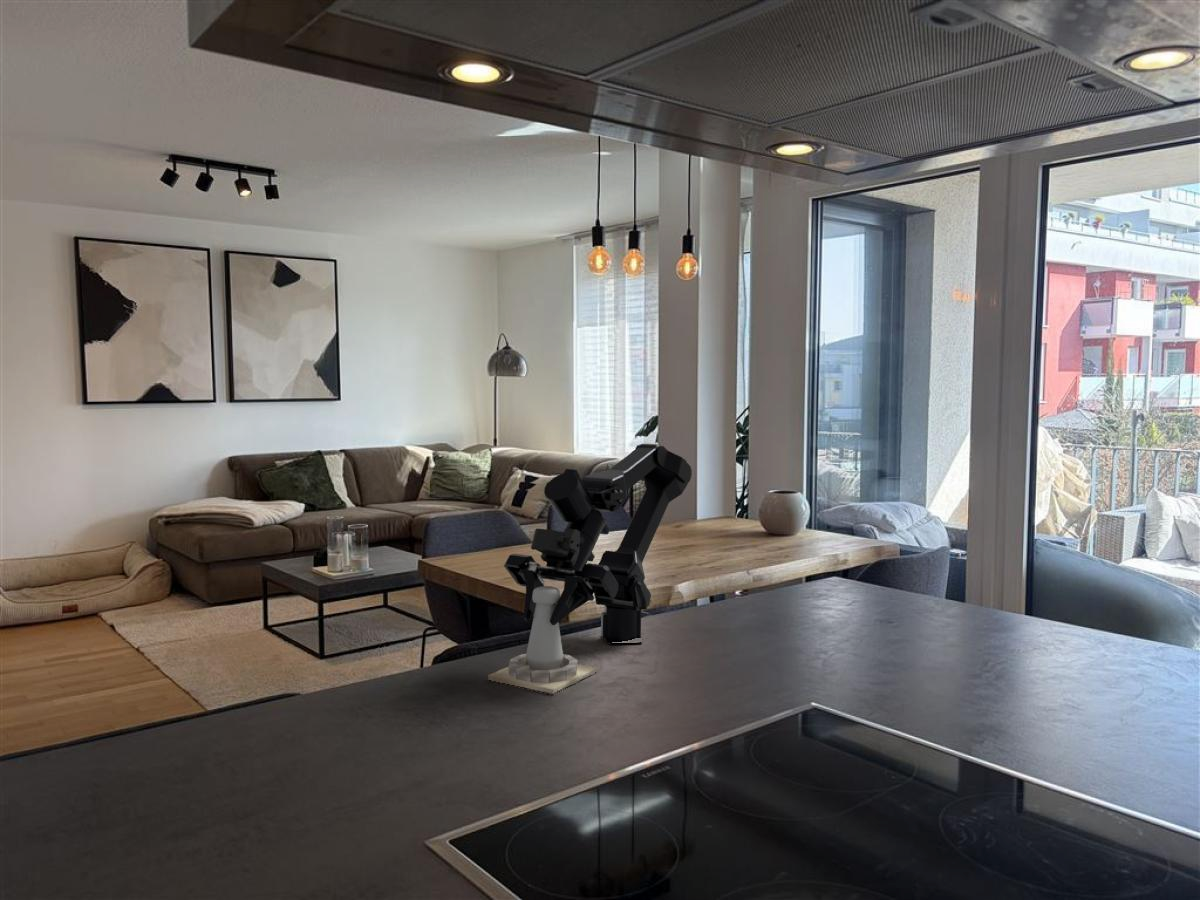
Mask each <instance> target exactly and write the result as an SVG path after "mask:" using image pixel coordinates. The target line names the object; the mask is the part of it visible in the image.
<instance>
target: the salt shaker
mask: <svg viewBox="0 0 1200 900" xmlns="http://www.w3.org/2000/svg"><path fill="white" fill-rule="evenodd" d="M560 592H561V591H560V589H559V588H558V587H555V586H551V585H544V586H541V587H537V588H535V589H534V590H533V595H532V598H533V602H535V603H536V608H535V613H534V614H533V618H532V619H533V620H532V624H531V630H530V634H529V639H528V643H527V649H526V653H525V654H526V660H527V662H528V665H529V667H530V669H531V670H553V669H559V667H560V665H561V662H562V660H563V654H564V651H563V646H562V639H561V632H560V630H561V629H560V623H559V622H560V621H559V622H558V623H557V624H556V625H552V624H551V623H550V619H551V616H552V613H553V611H554V609H555V607H556V605H557V603H558V600H559V598H560V596H561V593H560Z"/></svg>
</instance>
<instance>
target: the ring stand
mask: <svg viewBox="0 0 1200 900" xmlns="http://www.w3.org/2000/svg"><path fill="white" fill-rule="evenodd" d="M595 670H597V667H594V666H588V665H583V664H578V659H577V658H575V657H573V656H572V655H569V654H566V653H565V654H564V653H563V660H562V662H561V665H560V667H559V669H553V670H531V669H530V667H529V665H528V662H527V660H526V653H523V654H519V655H517V656H514V657H512V658H510V660H509V662H508V666H507V667H504V668H501V669H499V670H497V671H495V672H493V673H491V674H490V673H489V674H488V676H487V677H488V678H487V681H489V680H491V681H490V682H494V681H496V682H495V683H498V682H500V683H499V684H502V683H506V684H505V685H507V684H510V685H509V686H511V685H515V686H514V687H516V686H520V687H525V688H530V689H535V690H540V691H546V692H552V693H554V692H556V691H557V690H560V689H562V688H563V687H565V686H567V685H569V684H571V683H572V682H575V681H576V680H578V679H580V678H582V677H583V676H585V675H588V674H589V673H591V672H593V671H595ZM597 671H598V670H597ZM520 687H519V688H520Z"/></svg>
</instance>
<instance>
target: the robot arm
mask: <svg viewBox="0 0 1200 900" xmlns="http://www.w3.org/2000/svg"><path fill="white" fill-rule="evenodd" d="M692 472H693V471H692V467H691V465H690V464H689V463H688V462H687V460H686V459H684V458H683V457H682V456H680V455H679V454H675V453H674V452H671V451H669V450H668V449H667V448H666V447H665V446H663V445H661V444H660V443H659V444H657V443H656V444H655V443H641V444H637V445H636V446H635V449H634V450H633V451H631V452H630V453H629V454H628V455H626V456H625V457H624V458H622V459H621V460H620V461H619V462H617V463H615V465H613V466H612V467H611V468H609V469H607V470H603V471H597V472H593V473H591V474H587V475H586V476H583V477H582V478H581V476H580V473H579V471H578V470H577V469H574V468H566V469H565V470H564V471H563V473H561V474H558V475H557V476H554V477H553V478H552V479H550V481H547V483H545V487H544V488H543V489H544V490H543V491H544V492H543V494H544V496H545V497H546V499H547V500H548V502H549V504H550V505H551V507H552V508H553V510H554V511H555V513H556V515H557V516H558V518H559V519H560V520H561V521H562V522H565V523H566V525H565V526H564V528H563V531H559V530H555V529H544V528H535V530H534V533H533V537H532V542H531V545H530V549H531V550H533V551H534V550H535V551H538V552H539V553H541V555H540V558H541V560H542V561H543V562H546V565H541V564H540V563H538V562H536V561H535V559H534V558H533V556H532V555H527V554H519V553H512V554H509V556H508V557H507V559H506V561H505V563H504V564H503V567H504V568H505V569H506V571H507V572H508V574H509V575H510V576H511V578H512V579H513V580H514V582H515V583H516V584H517V585H518V586H521V587H525V596H524V597H525V598H524V609H523V615H522V616H523V618H524V620H525V621H526V622H527V621H530V619H531V618H532V617H534V613H535V608H536V603H535V602H533V598H532V595H533V590H534V589H535V588H537V587H541V586H545V585H544V584H545V582H546V580H549V581H556V582H563V583H564V585H563V591H562V592H561V593H560V598H559V600H558V603H556V607H555V609H554V611H553V613H552V616H551V619H550V623H551V624H552V625H556V624H557V623H558V622H561V621H562V620H563V619H565V618H566V617H567V616H569V614H571V613H572V612H573V611H575V610H577V609H578V608H580V607H581V606H583V605H585V604H586V603H588V602H593V601H594V600H595V605H599V606H603V607H604V609H603V610H604V611H601V613H600V622H601V623H600V635H601V637H602V639H604V641H606V642H605V644H606V643H612V642H622V641H628V640H632V639H635V638H642V610H647V609H648V607H649V606H650V603H651V597H652V593H651V591H650V590H649V588H648V587H647V585H646V583H645V579H646V577H645V576H646V575H645V570H644V566H643V562H644V559H645V557H646V555H647V554H648V553H647V552H648V550H649V549H650V546H651V544H652V542H653V539H654V537H655V534H656V533H657V530H658V528H659V525H660V523H661V521H662V519H663V517H664V515H665V512H666V510H667V508H668V505H669V504H670V503H671V502H672V501H673V500H675V499H677V498H678V497H680V496H682V494H683V492H684V491H685V489H687V486H688V485H689V482H690V481H691V479H692V475H693V474H692ZM642 479H643V482H644V487H645V491H644V493H643V495H642V497H641V500H640V502H639V504H638V506H637V508H636V510H635V512H634V514H633V517H632V519H631V521H630V523H629V525H628V527H627V529H626V531H625V533H624V535H623V538H622V540H621V542H620V544H619V546H618V547H617V549H616V550H614V551H613V550H605V551H604V552H603V553H602V555H601V558H600V561H599V563H598V564H597V563H589V562H594V559H595V557H596V556H595V554H594V553H593V551H594V548H595V545H596V543H597V542H598V540H599V537H600V535H609V534H610V533H609V532H610V531H609V525H608V524H607V523H608V522H607V519H606V517H604V516H603V515H602V513H601V512H606V513H607V512H609V513H616V512H618V511H619V510H620V509H621V507H622V506H623V505H624V504H625V503H626V502H627V500H628V491H629V490H630V489H631V488H632V487H633V486H635V485H636V484H637V483H639V482H640V481H641V480H642ZM587 562H588V563H587Z"/></svg>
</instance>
